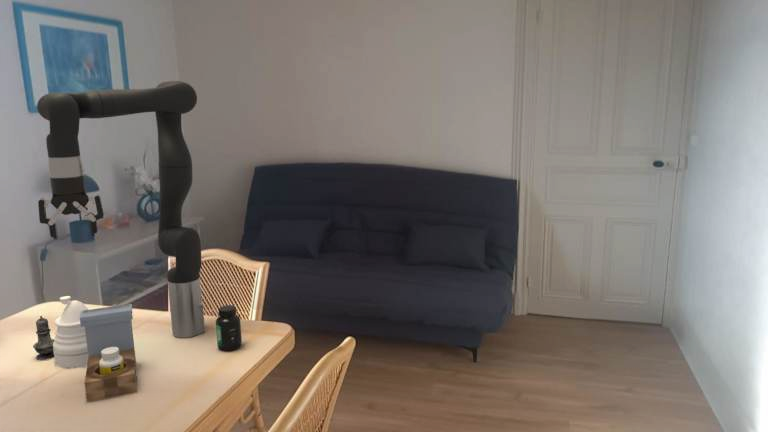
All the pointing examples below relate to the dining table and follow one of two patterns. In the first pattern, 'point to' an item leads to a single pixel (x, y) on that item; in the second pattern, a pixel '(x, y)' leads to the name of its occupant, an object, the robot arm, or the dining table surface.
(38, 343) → the dark grey chess piece
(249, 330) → the dining table surface
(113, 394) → the socket
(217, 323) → the supplement bottle
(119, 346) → the wall
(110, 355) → the supplement bottle
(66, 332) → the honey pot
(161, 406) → the dining table surface
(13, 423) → the dining table surface
